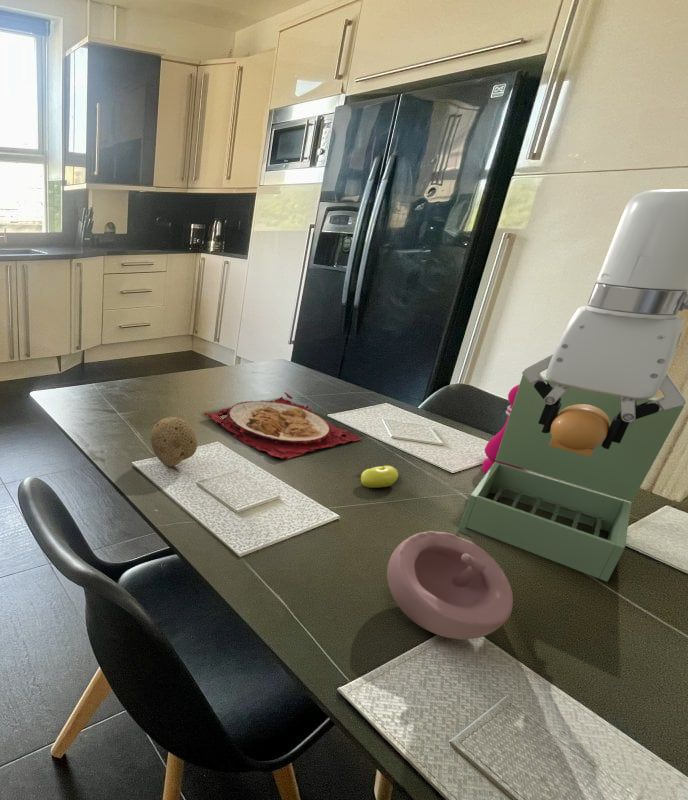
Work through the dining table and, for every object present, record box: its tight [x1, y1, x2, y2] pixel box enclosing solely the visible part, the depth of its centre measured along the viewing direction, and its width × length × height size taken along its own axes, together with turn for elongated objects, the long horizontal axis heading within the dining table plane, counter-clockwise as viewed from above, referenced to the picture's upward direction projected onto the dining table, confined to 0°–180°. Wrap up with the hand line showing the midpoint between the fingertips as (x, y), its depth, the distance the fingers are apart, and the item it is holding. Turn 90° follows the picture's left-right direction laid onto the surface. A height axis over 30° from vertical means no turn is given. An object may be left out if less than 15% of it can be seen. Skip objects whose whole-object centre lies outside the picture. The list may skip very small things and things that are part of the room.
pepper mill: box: [481, 383, 525, 474], centre depth 91 cm, size 7×7×20 cm
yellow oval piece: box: [360, 465, 399, 489], centre depth 89 cm, size 4×8×4 cm, turn 106°
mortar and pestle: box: [386, 530, 514, 640], centre depth 58 cm, size 12×12×11 cm
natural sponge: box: [149, 416, 198, 468], centre depth 94 cm, size 9×9×10 cm
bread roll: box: [549, 404, 610, 457], centre depth 64 cm, size 9×5×5 cm, turn 131°
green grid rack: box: [492, 485, 605, 537], centre depth 76 cm, size 14×13×3 cm
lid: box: [496, 374, 686, 502], centre depth 75 cm, size 17×17×5 cm
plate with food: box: [204, 391, 363, 460], centre depth 112 cm, size 24×26×3 cm
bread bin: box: [457, 462, 633, 583], centre depth 75 cm, size 17×17×7 cm
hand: (575, 436), depth 65 cm, fingers closed on bread roll, 5 cm apart
